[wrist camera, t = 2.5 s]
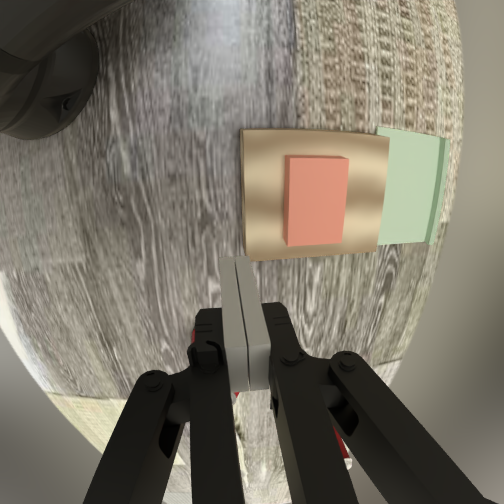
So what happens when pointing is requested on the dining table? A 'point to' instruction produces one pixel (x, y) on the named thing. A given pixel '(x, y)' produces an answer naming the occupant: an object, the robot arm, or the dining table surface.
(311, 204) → the block
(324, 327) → the dining table surface
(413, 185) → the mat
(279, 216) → the deck
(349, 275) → the dining table surface
